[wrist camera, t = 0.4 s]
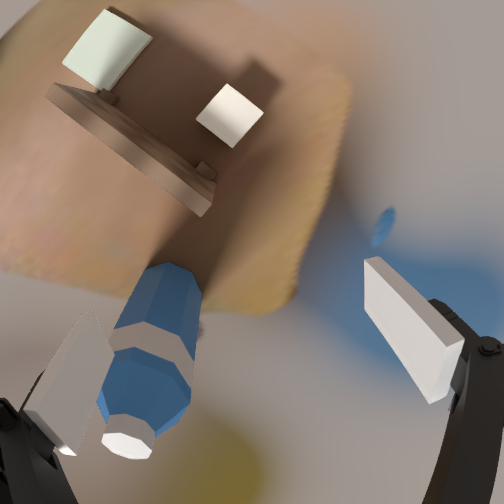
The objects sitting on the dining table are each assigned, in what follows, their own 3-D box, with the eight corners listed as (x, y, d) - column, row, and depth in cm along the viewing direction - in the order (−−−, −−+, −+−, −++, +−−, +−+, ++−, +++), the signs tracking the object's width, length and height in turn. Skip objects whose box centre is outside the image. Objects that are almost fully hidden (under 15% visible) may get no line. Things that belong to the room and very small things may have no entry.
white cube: (199, 121, 33) (195, 119, 29) (227, 89, 32) (227, 82, 28) (231, 146, 35) (232, 148, 30) (259, 115, 34) (264, 111, 29)
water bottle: (168, 247, 39) (106, 392, 16) (216, 295, 42) (212, 456, 19) (124, 289, 40) (53, 429, 17) (170, 330, 43) (141, 480, 20)
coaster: (64, 64, 28) (61, 63, 27) (106, 11, 26) (104, 9, 25) (107, 94, 31) (105, 93, 30) (153, 38, 29) (151, 36, 28)
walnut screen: (84, 111, 31) (38, 107, 21) (101, 85, 30) (59, 71, 20) (202, 201, 37) (192, 227, 27) (222, 176, 36) (220, 193, 26)
